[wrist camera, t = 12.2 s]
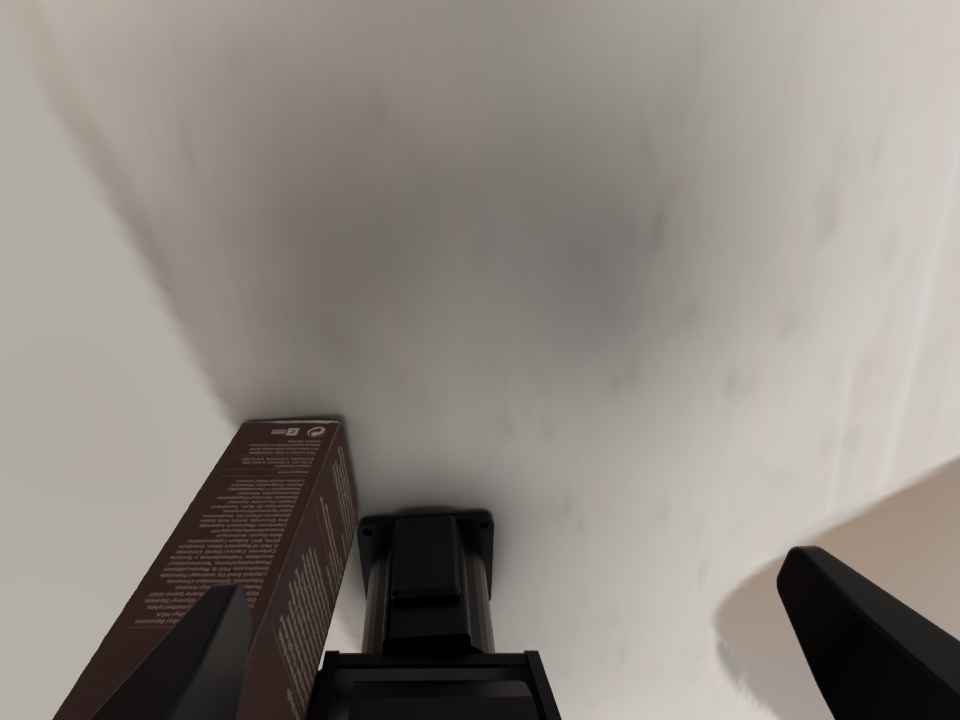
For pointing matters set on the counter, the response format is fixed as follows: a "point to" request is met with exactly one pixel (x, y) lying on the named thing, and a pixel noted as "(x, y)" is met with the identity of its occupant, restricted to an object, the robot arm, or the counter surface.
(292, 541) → the box
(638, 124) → the counter surface
